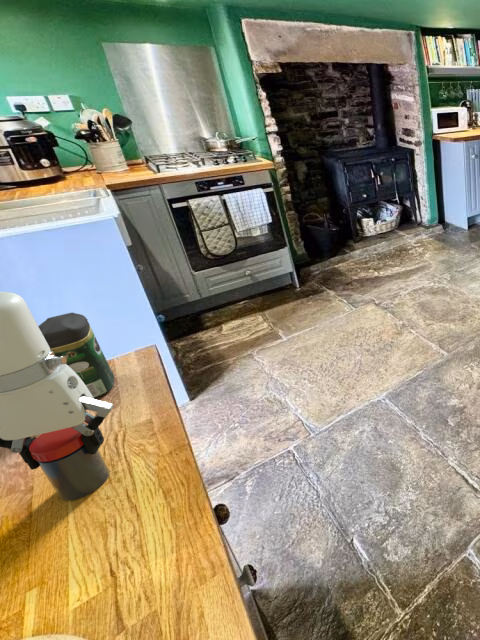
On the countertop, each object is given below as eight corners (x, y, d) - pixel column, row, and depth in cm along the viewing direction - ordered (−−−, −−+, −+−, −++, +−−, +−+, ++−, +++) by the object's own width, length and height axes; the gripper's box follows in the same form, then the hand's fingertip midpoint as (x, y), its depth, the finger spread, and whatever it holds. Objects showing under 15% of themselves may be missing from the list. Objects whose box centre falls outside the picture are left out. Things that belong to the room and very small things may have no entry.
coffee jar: (69, 386, 92) (33, 317, 85) (115, 371, 97) (85, 305, 90) (65, 410, 86) (25, 338, 78) (115, 393, 91) (82, 324, 83)
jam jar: (50, 506, 67) (22, 461, 63) (69, 474, 72) (44, 431, 68) (100, 492, 70) (76, 448, 65) (115, 462, 75) (94, 420, 71)
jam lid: (98, 424, 71) (94, 416, 71) (80, 454, 66) (75, 445, 65) (47, 436, 69) (42, 428, 68) (23, 467, 63) (18, 459, 62)
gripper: (104, 344, 67) (141, 423, 75) (-45, 370, 61) (11, 454, 68) (83, 371, 61) (125, 455, 68) (-86, 404, 54) (-19, 493, 62)
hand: (68, 454), depth 68 cm, fingers closed on jam lid, 6 cm apart
